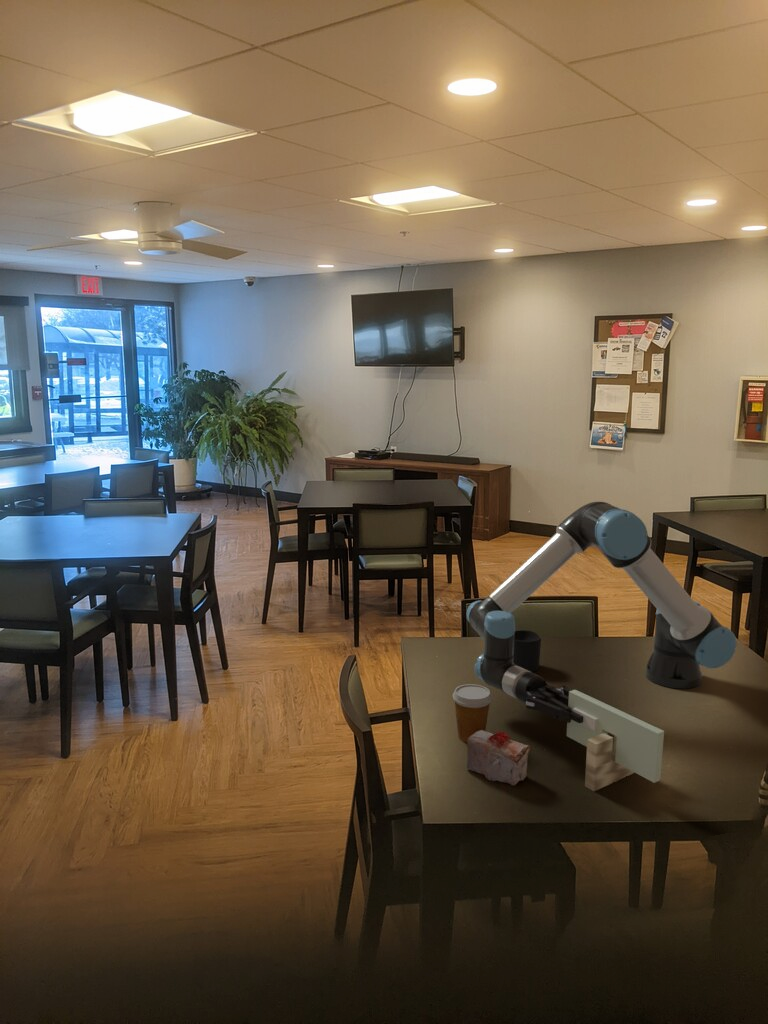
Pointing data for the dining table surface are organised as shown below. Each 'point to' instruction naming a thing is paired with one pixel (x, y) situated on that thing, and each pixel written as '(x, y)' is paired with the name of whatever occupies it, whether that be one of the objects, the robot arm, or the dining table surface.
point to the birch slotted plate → (602, 763)
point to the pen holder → (527, 650)
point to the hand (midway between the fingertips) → (600, 723)
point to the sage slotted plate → (620, 735)
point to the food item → (497, 757)
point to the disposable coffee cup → (471, 709)
